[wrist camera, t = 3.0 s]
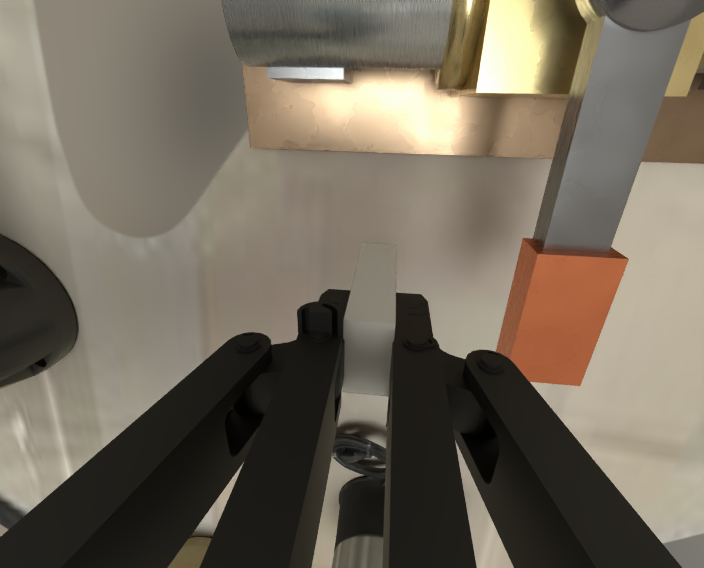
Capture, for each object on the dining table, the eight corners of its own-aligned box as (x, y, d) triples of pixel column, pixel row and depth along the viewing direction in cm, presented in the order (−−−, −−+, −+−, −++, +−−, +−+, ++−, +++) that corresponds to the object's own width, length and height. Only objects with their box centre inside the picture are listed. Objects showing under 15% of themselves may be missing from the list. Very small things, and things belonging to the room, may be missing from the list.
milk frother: (378, 534, 46) (370, 709, 32) (279, 468, 42) (225, 634, 29) (467, 486, 40) (503, 674, 27) (362, 405, 37) (343, 576, 23)
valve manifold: (257, 146, 27) (163, 173, 16) (234, -123, 20) (53, -375, 10) (770, 163, 24) (1084, 212, 13) (926, -145, 17) (1785, -549, 7)
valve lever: (595, -131, 10) (632, -173, 9) (749, -136, 10) (815, -181, 8) (486, 354, 18) (495, 378, 16) (572, 361, 18) (589, 386, 16)
